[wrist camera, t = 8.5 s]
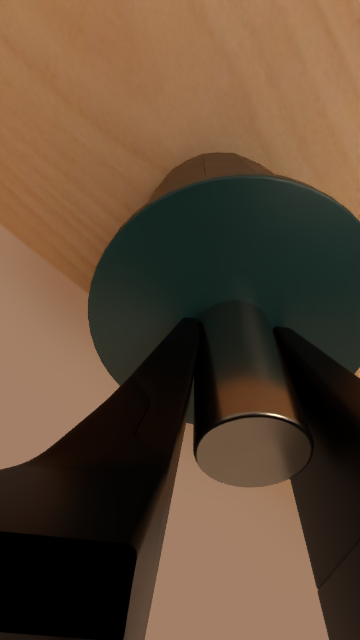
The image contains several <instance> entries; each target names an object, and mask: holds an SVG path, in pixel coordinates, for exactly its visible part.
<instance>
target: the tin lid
mask: <svg viewBox="0 0 360 640" xmlns="http://www.w3.org/2000/svg"><path fill="white" fill-rule="evenodd" d="M184 317H188V318H196V319H197V320H198V328H199V347H198V354H197V360H196V366H195V372H194V379H193V386H192V392H191V399H190V404H189V410H188V415H187V420H186V423H190V424H194V438H193V439H194V440H193V442H194V443H193V448H194V449H193V451H194V456H195V459H196V462H197V463H198V465H199V467H200V468H201V469H202V471H203V472H204V473H206V474H207V475H208V476H210V477H211V478H213V479H215V480H217V481H219V482H221V483H225V484H228V485H232V486H239V487H263V486H269V485H273V484H277V483H280V482H283V481H285V480H288V479H290V478H292V477H294V476H295V475H297V474H298V473H300V472H301V471H302V470H303V469H304V468H305V467H306V466H307V465H308V463H309V462H310V460H311V458H312V455H313V450H314V441H313V437H312V434H311V432H310V429H309V426H308V423H307V421H306V418H305V415H304V413H303V410H302V407H301V404H300V402H299V399H298V396H297V394H296V391H295V388H294V385H293V383H292V380H291V377H290V375H289V372H288V369H287V367H286V364H285V361H284V358H283V356H282V353H281V350H280V348H279V345H278V342H277V339H276V337H275V334H274V331H273V329H274V328H275V327H288V328H291V329H292V330H293V331H295V332H296V333H298V334H299V335H300V336H302V337H303V338H304V339H306V340H307V341H309V342H310V343H311V344H313V345H314V346H316V347H317V348H318V349H320V350H321V351H323V352H324V353H325V354H327V355H328V356H330V357H331V358H332V359H334V360H335V361H336V362H338V363H339V364H341V365H342V366H343V367H345V368H346V369H348V370H349V371H350V372H352V373H353V374H355V373H356V371H357V370H358V369H359V368H360V221H359V220H358V219H357V218H356V217H355V216H354V215H353V214H352V213H351V212H350V211H349V210H348V209H347V208H345V207H344V206H343V205H341V204H340V203H339V202H337V201H336V200H335V199H333V198H332V197H330V196H328V195H327V194H325V193H323V192H321V191H319V190H317V189H315V188H313V187H312V186H310V185H308V184H306V183H303V182H300V181H297V180H294V179H291V178H288V177H285V176H280V175H274V174H269V173H263V172H240V171H238V172H229V173H220V174H213V175H209V176H205V177H201V178H197V179H193V180H190V181H188V182H185V183H183V184H180V185H178V186H175V187H173V188H171V189H169V190H167V191H165V192H164V193H162V194H160V195H158V196H157V197H155V198H153V199H152V200H150V201H149V202H148V203H146V204H145V205H144V206H143V207H141V208H140V209H139V210H137V211H136V212H135V213H134V214H133V215H132V216H131V217H130V218H129V219H128V220H127V221H126V222H125V223H124V224H123V225H122V226H121V227H120V229H119V230H118V232H117V233H116V234H115V236H114V237H113V239H112V240H111V241H110V243H109V244H108V246H107V247H106V249H105V250H104V252H103V254H102V256H101V258H100V260H99V262H98V264H97V266H96V269H95V272H94V275H93V278H92V282H91V286H90V292H89V299H88V319H89V326H90V332H91V336H92V339H93V342H94V346H95V348H96V351H97V353H98V355H99V357H100V359H101V361H102V363H103V364H104V366H105V367H106V369H107V371H108V372H109V374H110V375H111V376H112V377H113V378H114V380H115V381H116V382H117V383H118V384H119V385H120V386H121V385H122V384H123V383H124V382H125V381H126V380H127V379H128V377H130V376H131V374H132V373H133V372H134V371H135V370H136V369H137V368H138V367H139V366H140V365H141V363H142V362H143V361H144V360H145V359H146V358H147V357H148V356H149V355H150V354H151V352H152V351H153V350H154V349H155V348H156V347H157V346H158V345H159V344H160V343H161V341H162V340H163V339H164V338H165V337H166V336H167V335H168V334H169V333H170V332H171V330H172V329H173V328H174V327H175V326H176V325H177V324H178V323H179V322H180V321H181V320H182V318H184Z"/></svg>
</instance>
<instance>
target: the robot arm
mask: <svg viewBox="0 0 360 640" xmlns="http://www.w3.org/2000/svg"><path fill="white" fill-rule="evenodd" d="M273 331H274V334H275V337H276V339H277V342H278V345H279V348H280V350H281V353H282V356H283V358H284V361H285V364H286V367H287V369H288V372H289V375H290V377H291V380H292V383H293V385H294V388H295V391H296V394H297V396H298V399H299V402H300V404H301V407H302V410H303V413H304V415H305V418H306V421H307V423H308V426H309V429H310V432H311V434H312V437H313V441H314V450H313V455H312V458H311V460H310V462H309V463H308V465H307V466H306V467H305V468H304V469H303V470H302V471H301V472H300V473H298V474H297V475H295V476H294V477H292V478H290V480H291V484H292V488H293V493H294V497H295V500H296V505H297V509H298V512H299V517H300V521H301V525H302V529H303V533H304V538H305V541H306V545H307V550H308V554H309V558H310V562H311V566H312V570H313V574H314V579H315V583H316V586H317V589H318V596H319V600H320V604H321V608H322V612H323V616H324V620H325V624H326V628H327V632H328V637H329V640H360V378H359V377H357V376H356V375H355V374H353V373H352V372H350V371H349V370H348V369H346V368H345V367H343V366H342V365H341V364H339V363H338V362H336V361H335V360H334V359H332V358H331V357H330V356H328V355H327V354H325V353H324V352H323V351H321V350H320V349H318V348H317V347H316V346H314V345H313V344H311V343H310V342H309V341H307V340H306V339H304V338H303V337H302V336H300V335H299V334H298V333H296V332H295V331H293V330H292V329H291V328H288V327H275V328H274V329H273ZM198 347H199V328H198V320H197V319H196V318H188V317H184V318H182V320H181V321H180V322H179V323H178V324H177V325H176V326H175V327H174V328H173V329H172V330H171V332H170V333H169V334H168V335H167V336H166V337H165V338H164V339H163V340H162V341H161V343H160V344H159V345H158V346H157V347H156V348H155V349H154V350H153V351H152V352H151V354H150V355H149V356H148V357H147V358H146V359H145V360H144V361H143V362H142V363H141V365H140V366H139V367H138V368H137V369H136V370H135V371H134V372H133V373H132V374H131V376H130V377H128V379H127V380H126V381H125V382H124V383H123V384H122V385H121V386H120V387H119V388H118V389H117V390H116V391H115V392H114V393H113V394H112V395H111V396H110V397H109V398H108V399H107V400H106V401H105V402H104V403H103V404H101V405H100V406H99V407H98V408H97V409H96V410H95V411H93V412H92V413H91V414H90V415H89V416H87V417H86V418H85V419H84V420H83V421H81V422H80V423H79V424H78V425H77V426H75V427H74V428H73V429H72V430H71V431H69V432H68V433H67V434H66V435H65V436H64V437H62V438H61V439H60V440H59V441H58V442H56V443H55V444H54V445H53V446H51V447H50V448H49V449H47V450H46V451H45V452H43V453H42V454H40V455H39V456H37V457H35V458H33V459H31V460H30V461H28V462H25V463H23V464H20V465H17V466H13V467H10V468H5V469H1V470H0V640H144V639H145V634H146V629H147V623H148V618H149V613H150V608H151V602H152V597H153V592H154V587H155V581H156V576H157V571H158V566H159V560H160V556H161V550H162V545H163V540H164V534H165V529H166V524H167V519H168V514H169V509H170V503H171V498H172V493H173V487H174V483H175V477H176V472H177V467H178V462H179V457H180V451H181V446H182V441H183V436H184V430H185V425H186V420H187V415H188V410H189V404H190V399H191V392H192V386H193V379H194V372H195V366H196V360H197V354H198Z"/></svg>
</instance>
